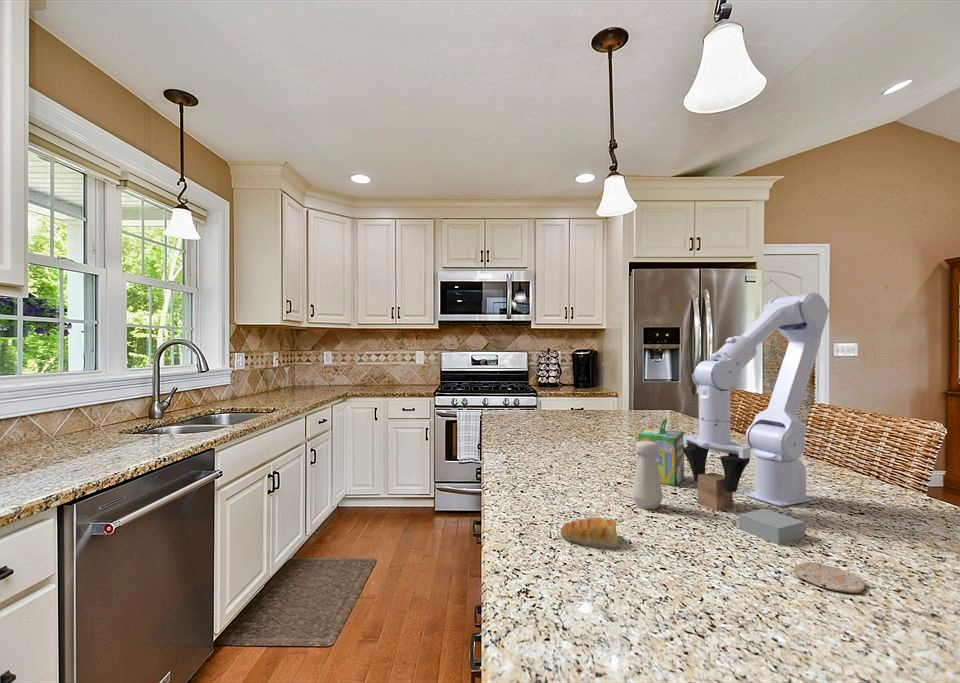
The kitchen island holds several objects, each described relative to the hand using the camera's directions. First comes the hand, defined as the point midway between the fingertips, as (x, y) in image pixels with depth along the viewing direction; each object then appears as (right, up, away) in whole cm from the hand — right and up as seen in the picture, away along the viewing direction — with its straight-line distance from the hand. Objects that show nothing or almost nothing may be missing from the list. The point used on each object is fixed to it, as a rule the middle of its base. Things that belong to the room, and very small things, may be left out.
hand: (714, 486), depth 94 cm
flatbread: (+1, -4, -30) cm, 30 cm away
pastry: (-29, -4, -17) cm, 34 cm away
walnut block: (0, -4, 0) cm, 4 cm away
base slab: (+3, -4, -14) cm, 15 cm away
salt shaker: (-14, -4, 0) cm, 14 cm away
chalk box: (-3, -4, +19) cm, 20 cm away
